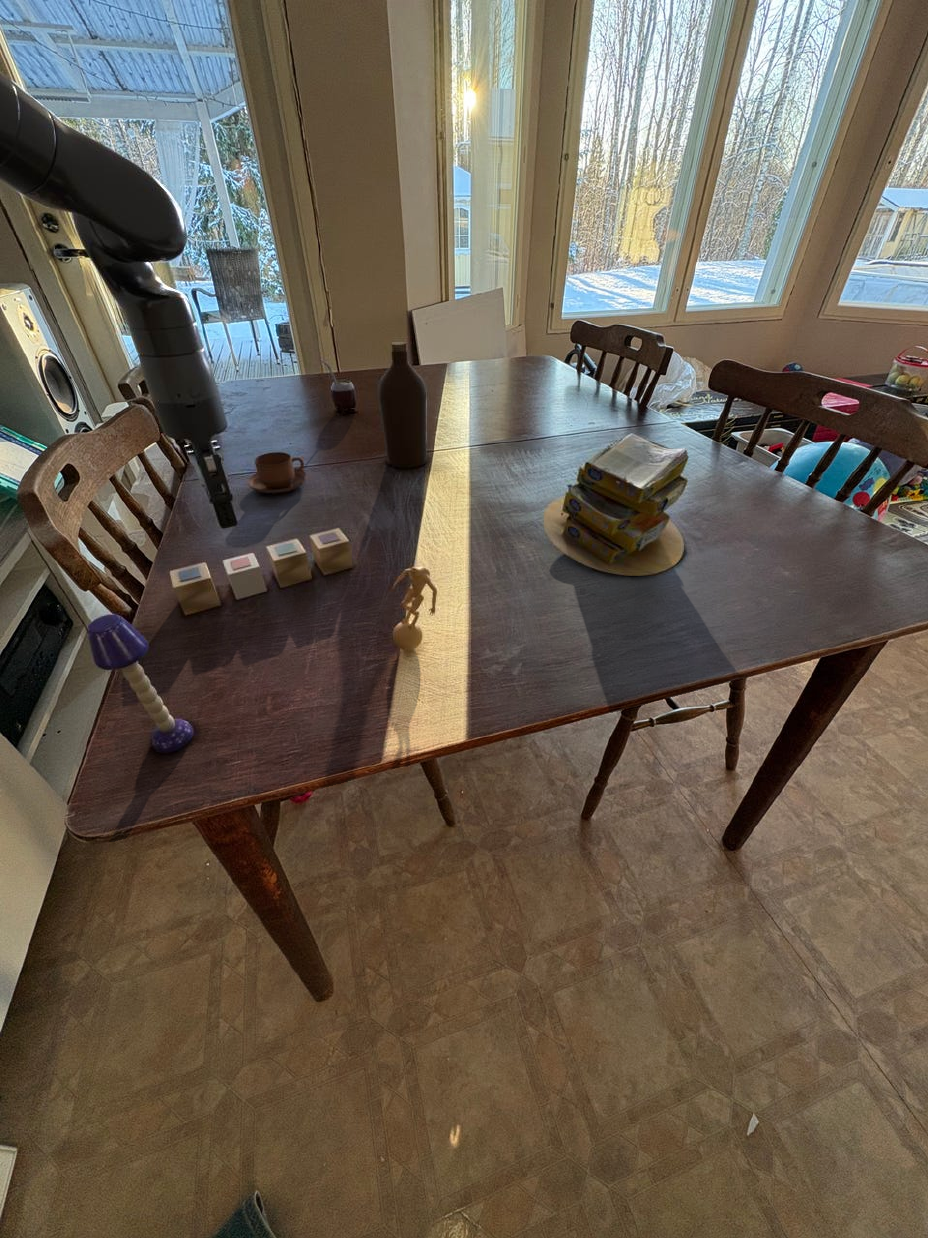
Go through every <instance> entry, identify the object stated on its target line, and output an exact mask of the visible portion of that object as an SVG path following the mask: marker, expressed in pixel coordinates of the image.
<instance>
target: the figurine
mask: <svg viewBox="0 0 928 1238" xmlns="http://www.w3.org/2000/svg"><path fill="white" fill-rule="evenodd" d="M406 574H408V575H409V582H410V587H409V588H408V589H407V593H406V595H405V597H404V599H403V600H402V601H401V606H402V608H403V609H405V610H406V611H408V612H407V615H405V618H403V619H402V620H401V622H399V623H397V624H396V626H395V627H394V629H393V631H392V641H393V643H394V644H395V646H396V647H397V648H399V649H401V651H402V650H403V651H413V650H416V648H417V649H418V647H419V646H420V645H421V644H422V641H423V636H424V635H423V630H422V628H421V626H420V625H419V624H418V623H417V622H418V619H419V616H420V611H419V608H420V606H421V605H422V603H423V602H424V600H425V596H424V595H423V594H422V593H423V590H424V588H425V587H426V585H427V586H428V587H429V589H430V590H431V591H432V598H431V608H429V610H428V612H429V616H434V615H435V613H436V603H437V595H438V590H437V587H436V586H435V585H434V583H433V581H432V580H431V578H430V576H431V572H430V569H429V568H428V567H427V566H423V565H421V566H418V567H416V566H412V567H411V568H405V569H404V570H403V571H402V573H401V574H400V575H399V576H398V577H397V578H396V580H395V582H394V584H393V586H392V589H394V588H395V587H396V585H397V584H398V583H399V582H400V581H401V580H402V579H403V578H405V576H406ZM410 603H411V604H410ZM412 615H413V616H414V618H413V620H410V618H411V616H412Z"/></svg>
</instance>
